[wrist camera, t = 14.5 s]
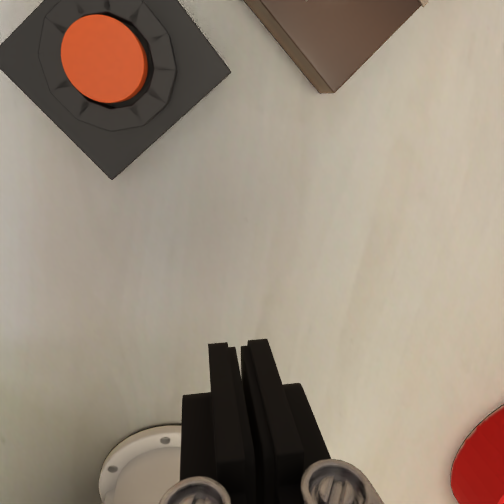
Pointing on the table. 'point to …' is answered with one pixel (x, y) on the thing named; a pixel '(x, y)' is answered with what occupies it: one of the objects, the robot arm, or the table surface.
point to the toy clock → (481, 464)
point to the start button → (104, 59)
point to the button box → (120, 113)
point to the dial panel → (332, 33)
